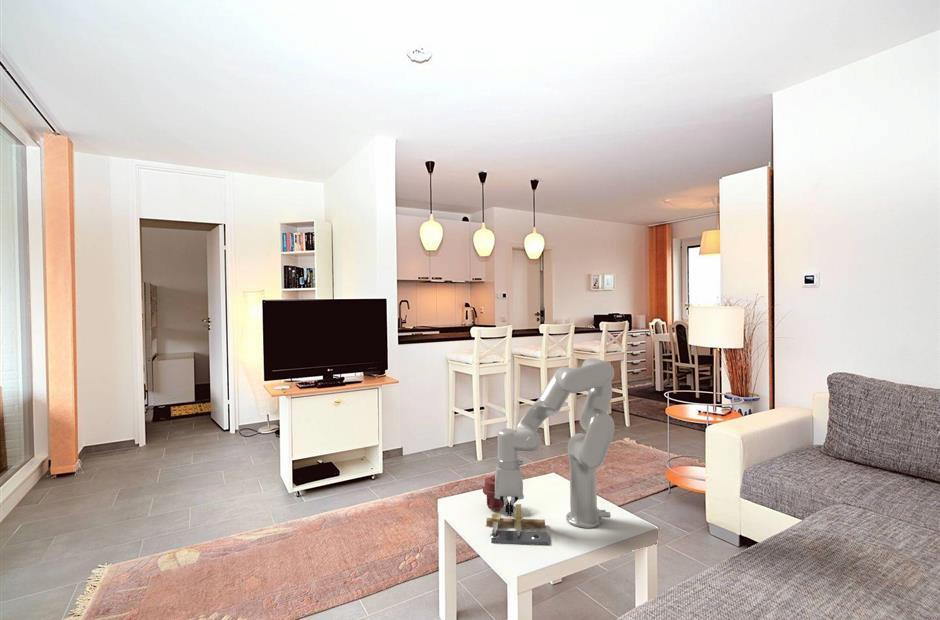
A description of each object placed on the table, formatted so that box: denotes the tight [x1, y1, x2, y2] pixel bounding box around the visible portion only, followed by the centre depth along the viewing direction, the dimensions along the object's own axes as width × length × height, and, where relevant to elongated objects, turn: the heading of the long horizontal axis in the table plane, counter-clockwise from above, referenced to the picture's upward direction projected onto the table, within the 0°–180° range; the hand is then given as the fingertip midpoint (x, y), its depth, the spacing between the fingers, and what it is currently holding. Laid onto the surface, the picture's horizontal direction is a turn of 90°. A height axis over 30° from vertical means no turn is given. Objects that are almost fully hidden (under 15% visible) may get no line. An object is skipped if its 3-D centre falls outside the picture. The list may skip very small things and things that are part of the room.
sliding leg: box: [513, 503, 524, 536], centre depth 161 cm, size 3×13×7 cm, turn 174°
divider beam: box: [485, 512, 546, 536], centre depth 161 cm, size 21×13×3 cm, turn 84°
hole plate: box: [489, 529, 550, 546], centre depth 156 cm, size 20×7×1 cm, turn 84°
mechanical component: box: [482, 475, 505, 513], centre depth 180 cm, size 12×10×10 cm
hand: (509, 514), depth 166 cm, fingers closed
